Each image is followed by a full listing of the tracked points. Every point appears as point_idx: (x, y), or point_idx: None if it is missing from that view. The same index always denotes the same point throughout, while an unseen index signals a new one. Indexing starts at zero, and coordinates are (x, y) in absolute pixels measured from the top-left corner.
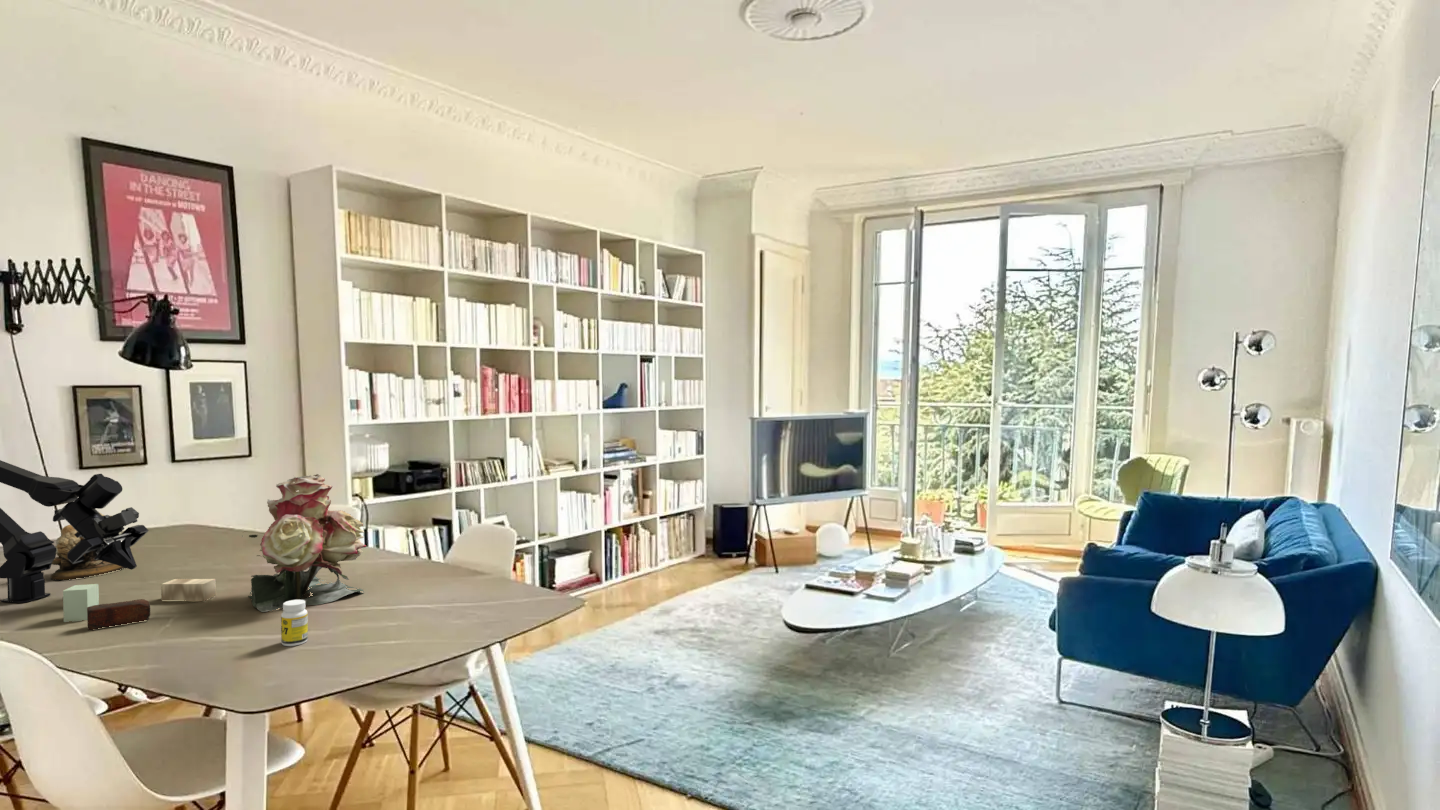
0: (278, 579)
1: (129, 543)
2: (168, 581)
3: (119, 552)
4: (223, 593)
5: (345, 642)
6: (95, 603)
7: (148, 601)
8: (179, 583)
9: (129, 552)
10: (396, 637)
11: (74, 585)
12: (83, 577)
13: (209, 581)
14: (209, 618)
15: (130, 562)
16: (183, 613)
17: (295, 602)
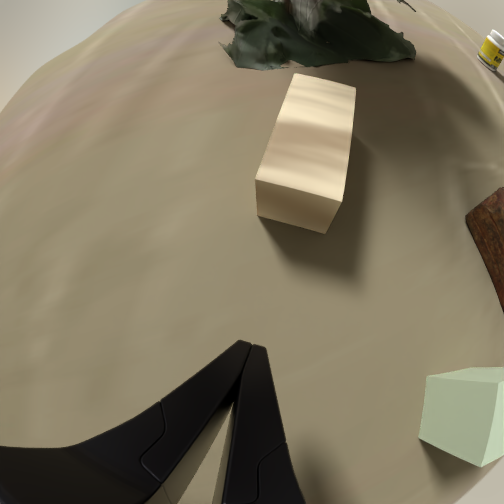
0: (273, 22)
1: (51, 459)
2: (297, 187)
3: (299, 496)
4: (266, 104)
5: (471, 43)
6: (466, 375)
7: (500, 189)
8: (342, 142)
9: (170, 426)
10: (451, 24)
11: (484, 464)
12: None
13: (325, 80)
14: (453, 112)
15: (269, 376)
16: (436, 151)
17: (500, 35)
